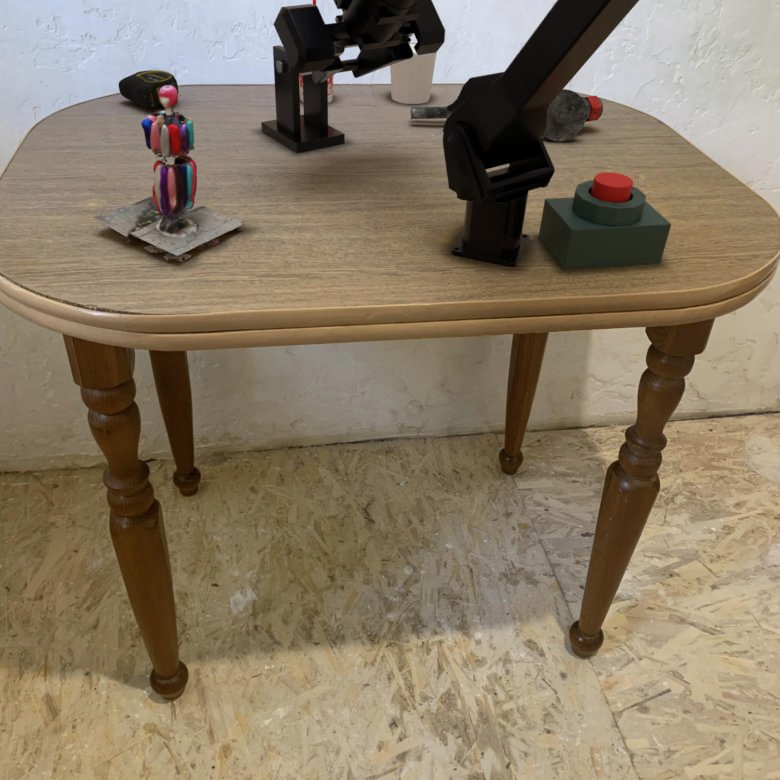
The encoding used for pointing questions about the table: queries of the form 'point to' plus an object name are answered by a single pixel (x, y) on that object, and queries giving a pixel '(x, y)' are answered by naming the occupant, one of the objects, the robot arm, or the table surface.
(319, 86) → the bracket
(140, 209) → the statue
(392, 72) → the white tapered cup
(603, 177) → the button
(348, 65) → the lever
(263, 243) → the table surface
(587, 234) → the button box
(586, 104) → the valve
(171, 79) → the tape measure
